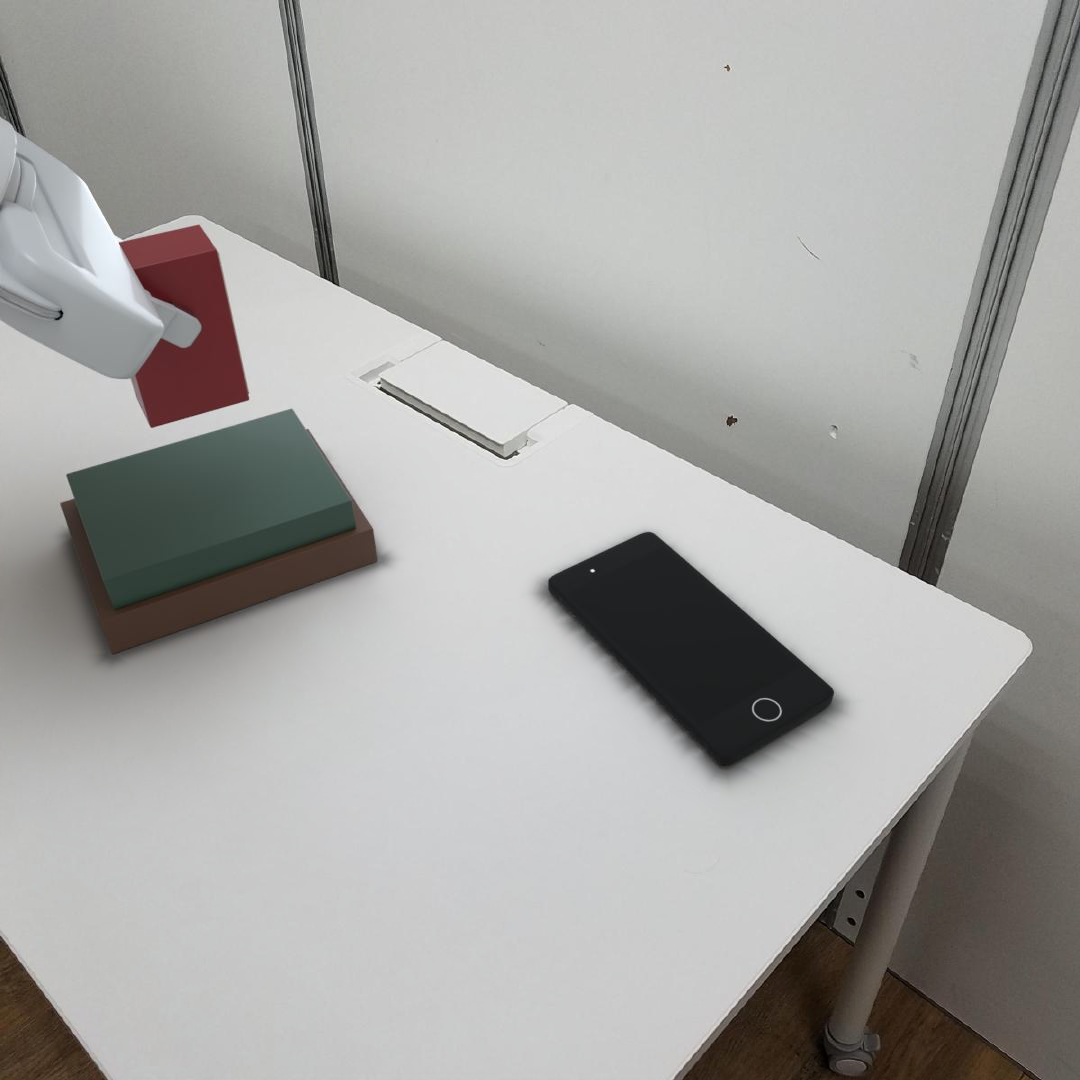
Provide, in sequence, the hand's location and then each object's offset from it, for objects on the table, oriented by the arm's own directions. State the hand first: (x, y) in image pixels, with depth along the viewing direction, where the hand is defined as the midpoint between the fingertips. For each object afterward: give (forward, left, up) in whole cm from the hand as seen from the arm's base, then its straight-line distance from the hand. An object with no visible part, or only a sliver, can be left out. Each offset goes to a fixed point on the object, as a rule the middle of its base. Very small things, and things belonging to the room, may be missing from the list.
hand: (181, 312), depth 64 cm
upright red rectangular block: (-1, 0, -6) cm, 6 cm away
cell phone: (+22, -21, -19) cm, 36 cm away
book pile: (-1, +2, -19) cm, 19 cm away
